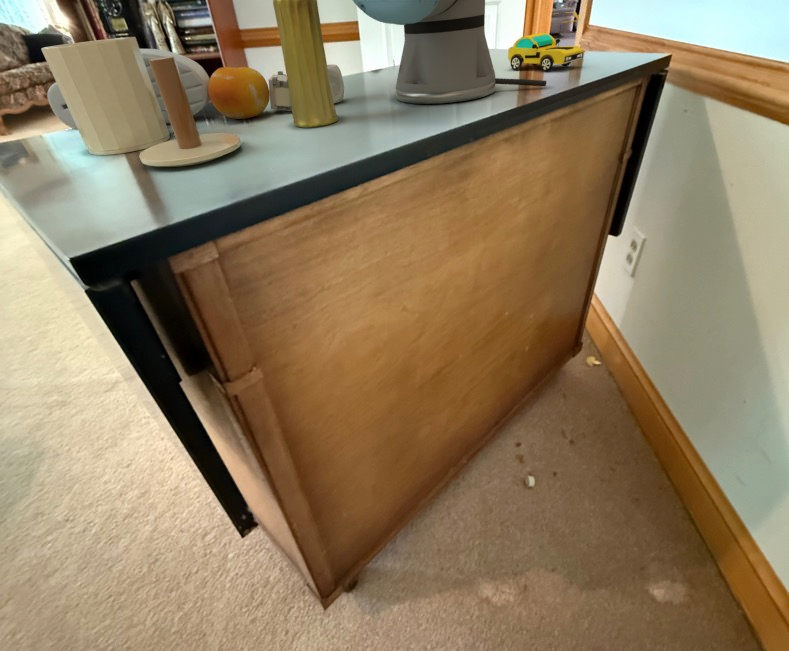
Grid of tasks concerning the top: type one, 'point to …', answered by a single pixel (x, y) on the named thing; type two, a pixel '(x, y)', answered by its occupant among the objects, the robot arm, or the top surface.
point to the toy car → (543, 51)
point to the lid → (182, 125)
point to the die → (336, 83)
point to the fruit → (238, 92)
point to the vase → (305, 62)
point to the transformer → (279, 92)
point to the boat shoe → (189, 71)
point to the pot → (108, 94)
